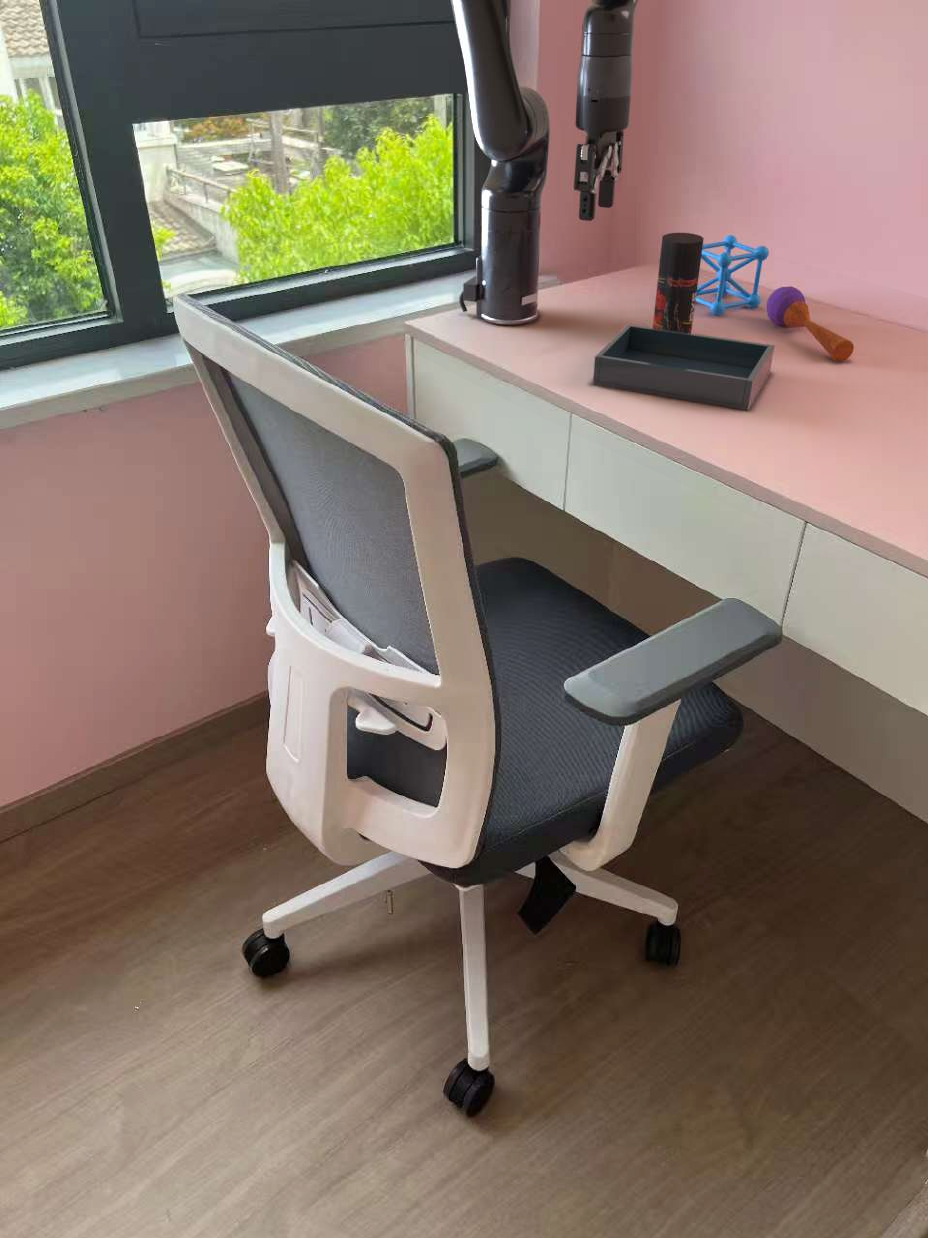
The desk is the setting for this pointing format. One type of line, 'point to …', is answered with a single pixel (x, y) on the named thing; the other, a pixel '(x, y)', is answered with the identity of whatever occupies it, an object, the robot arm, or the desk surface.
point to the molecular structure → (725, 274)
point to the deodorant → (677, 281)
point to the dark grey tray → (684, 366)
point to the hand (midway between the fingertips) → (596, 213)
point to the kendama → (805, 321)
